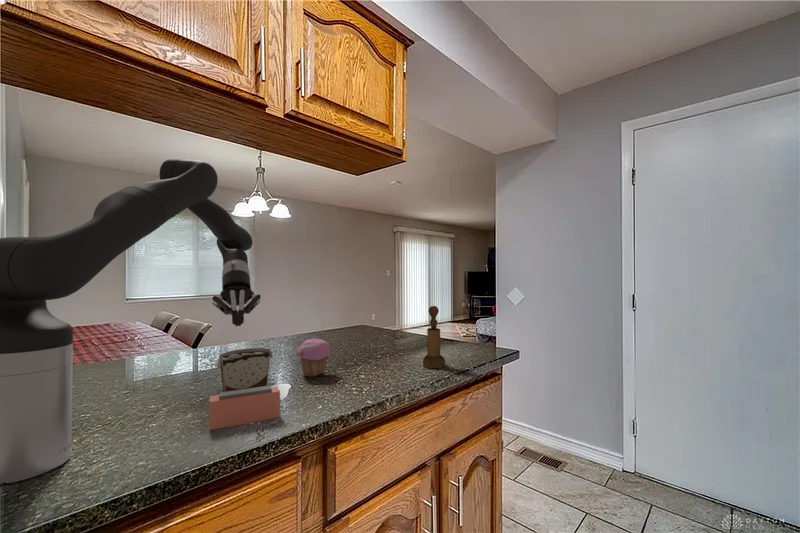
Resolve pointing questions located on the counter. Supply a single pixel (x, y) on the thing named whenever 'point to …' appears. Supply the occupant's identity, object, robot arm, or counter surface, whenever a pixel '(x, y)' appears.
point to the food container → (244, 368)
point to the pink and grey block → (244, 406)
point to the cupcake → (314, 356)
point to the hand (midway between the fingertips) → (238, 324)
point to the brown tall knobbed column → (433, 343)
